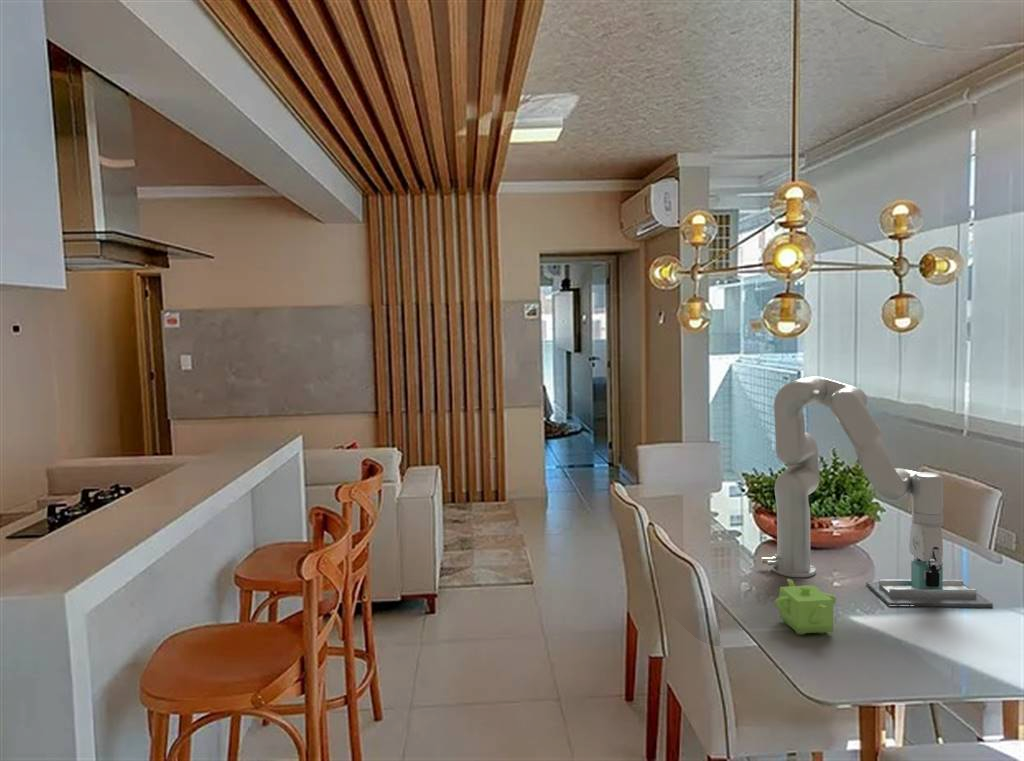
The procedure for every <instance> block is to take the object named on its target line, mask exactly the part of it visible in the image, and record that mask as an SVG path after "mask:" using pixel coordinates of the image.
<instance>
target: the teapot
mask: <svg viewBox="0 0 1024 761" xmlns="http://www.w3.org/2000/svg"><path fill="white" fill-rule="evenodd" d="M786 581H787V583H788V586H780V587H779V597H777V598H776V599H775V601H774V602H775V604H776V606H777V608H779V617H780V619H781V620H783V621H784V622H785V623H786V624H787V626H789V627H790V628H792V629H793V630H794V632H796V634H797V635H800V636H801V635H802V636H803V635H806V634H811V633H812V634H816V633H817V634H820V635H821V634H826V633H827V632H829V633H830V632H834V605H835V603H836V601H837V597H836V596H835V595H834V594H828V593H825V592H823V591H821V590H820V589H819V588H817V586H814V585H811V584H810V585H796V584H795V582H794V581H793V580H792V579H791V578H787V579H786Z"/></svg>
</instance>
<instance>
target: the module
mask: <svg viewBox="0 0 1024 761" xmlns="http://www.w3.org/2000/svg"><path fill="white" fill-rule="evenodd" d="M910 562H911V565H910V566H911V570H910V572H911V574H910V580H911V586H912V587H914V588H920V589H943V580H944V579H943V578H944V576H943V575H944V574H943V573H944V572H943V571H944V568H943V566H942V567H941V569H940V573H939V587H927V586H926V572H928V570H927V564H926V562H923V561H914V560H911V561H910ZM934 564H935V563H930V565H931V567H932V565H934Z"/></svg>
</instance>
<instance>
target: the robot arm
mask: <svg viewBox="0 0 1024 761" xmlns="http://www.w3.org/2000/svg"><path fill="white" fill-rule="evenodd" d="M773 402H774V403H773V413H774V414H773V415H774V434H775V435H774V436H775V452H776V456H777V460H779V461H780V463H782V464H783V465H787V469H785V470H784V471H782V472H780V474H779V475H778V476H777V478H776V480H775V483H774V496H775V503H776V533H777V534H776V547H777V548H776V549H777V550H776V552H777V553H774V556H771V557H765V556H763V557H760V561H761V564H764V565H767V566H771V569H772V571H773V572H774V573H776V574H778V575H780V576H785V577H789V578H790V577H791V578H809V577H813V576H814V575H815V574H817V569H816V567H815V566H813V565H812V564H811V511H810V510H811V509H810V503H809V495H811V494H812V493H814V492H815V491H816V490H817V489H818V487H819V483H820V468H819V467H820V466H819V453H818V452H819V451H818V450H819V448H818V445H817V442H816V440H815V438H814V437H813V435H812V434H810V433H809V432H807V431H806V428H805V427H806V426H805V425H806V421H805V416H804V412H803V410H804V408H806V407H808V406H813V405H819V406H823V407H826V408H829V410H830V412H832V414H833V416H834V418H835V419H836V420H837V422H838V423H839V425H840V426H841V429H842V430H843V432H844V433H845V434H846V436H847V438H848V439H849V441H850V443H851V444H852V446H853V447H854V451H855V454H856V457H857V459H858V461H859V464H860V466H861V468H862V471H863V473H864V474H865V477H866V478H867V479H868V481H869V482H870V484H871V486H872V487H873V489H874V491H876V492H877V493H878V495H879V496H881V497H882V498H883V499H884V500H888V501H891V502H892V501H893V502H894V501H899V500H900V499H903V498H904V497H905V496H908V495H910V496H911V524H910V533H909V548H908V549H909V553H910V554H911V555H912V556H914V557H913V561H923V562H926V564H927V570H928V572H926V586H927V587H939V573H940V569H941V567H943V565H944V564H943V558H944V557H943V556H944V555H943V554H944V548H943V546H944V545H943V544H944V543H943V542H944V541H943V532H942V531H943V530H942V526H943V525H944V478H943V476H942V475H940V474H939V473H936V472H929V471H920V472H919V471H913V470H909V469H905V468H899V467H897V468H895V467H894V465H893V464H892V463H891V461H890V459H889V457H888V455H887V453H886V449H885V444H884V443H885V442H884V441H885V440H884V434H883V431H882V429H881V428H880V426H879V425H878V423H877V422H876V420H875V419H874V417H873V415H872V414H871V412H870V411H869V409H868V408H867V406H868V398H867V394H866V393H865V392H864V391H863V390H862V389H861V388H859V387H857V386H854V385H852V384H851V385H850V384H847V383H842V382H840V381H836V380H832V379H829V378H825V377H822V376H817V375H811V376H804V377H800V378H797V379H794V380H792V381H789V382H788V383H786V384H784V385H783V386H782V387H781V388H780V389H779V390H778V392H777V393H776V395H775V398H774V401H773ZM930 563H935V564H934V565H932V567H931V565H930Z"/></svg>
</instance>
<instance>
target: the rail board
mask: <svg viewBox="0 0 1024 761" xmlns="http://www.w3.org/2000/svg"><path fill="white" fill-rule="evenodd" d="M878 580H879V581H865V584H866V585H865V586H866V587H868V589H870V590H871V591H872V592H873V593H874V594H875V595H876V596H877V595H878V596H879V597H880V598H881V600H882V602H884V601H885V602H886V603H887V604H888V605H909V606H910V605H914V606H934V607H933V608H936V607H935V606H938V607H937V608H940V607H939V606H942V607H941V608H993V607H994V606H993V605H994V604H993V602H991V601H989V600H988V599H986V598H985V597H984V596H982V595H981V594H979V593H978V592H977V590H978V589H976V588H971V587H970V586H968V585H966V584H965V583H964V580H963V579H943V589H920V588H914V587H912V586H911V579H890V578H889V579H888V578H886V579H883V578H881V579H878ZM878 596H877V597H878ZM879 597H878V598H879ZM880 598H879V599H880ZM885 602H884V603H885ZM886 603H885V604H886ZM887 604H886V605H887ZM888 605H887V606H888Z"/></svg>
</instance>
